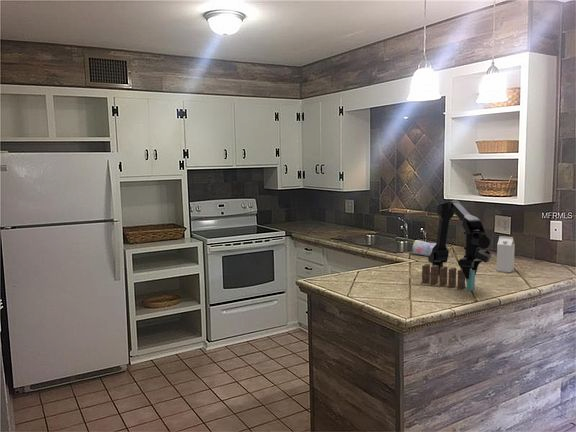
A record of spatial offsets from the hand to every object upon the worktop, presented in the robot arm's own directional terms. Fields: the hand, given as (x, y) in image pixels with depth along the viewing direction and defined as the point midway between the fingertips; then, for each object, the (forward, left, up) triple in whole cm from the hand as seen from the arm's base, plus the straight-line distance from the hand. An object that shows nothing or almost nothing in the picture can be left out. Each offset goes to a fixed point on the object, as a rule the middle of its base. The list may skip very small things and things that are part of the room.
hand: (471, 277), depth 230 cm
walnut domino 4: (-3, -9, -6) cm, 11 cm away
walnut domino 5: (-2, -4, -6) cm, 8 cm away
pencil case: (-74, -23, -6) cm, 77 cm away
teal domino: (0, 0, -6) cm, 6 cm away
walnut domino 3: (-5, -13, -6) cm, 15 cm away
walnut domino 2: (-6, -17, -6) cm, 19 cm away
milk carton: (-43, +19, -6) cm, 47 cm away
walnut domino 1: (-8, -21, -6) cm, 23 cm away
